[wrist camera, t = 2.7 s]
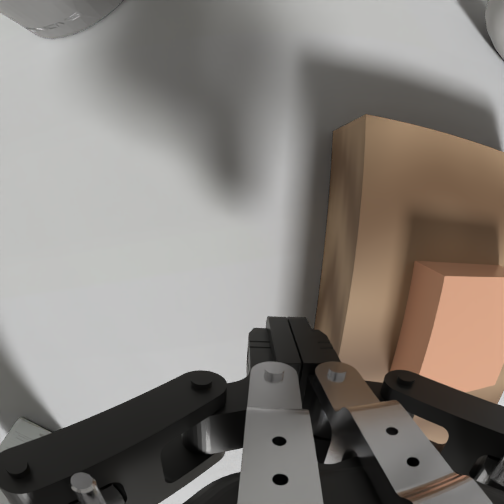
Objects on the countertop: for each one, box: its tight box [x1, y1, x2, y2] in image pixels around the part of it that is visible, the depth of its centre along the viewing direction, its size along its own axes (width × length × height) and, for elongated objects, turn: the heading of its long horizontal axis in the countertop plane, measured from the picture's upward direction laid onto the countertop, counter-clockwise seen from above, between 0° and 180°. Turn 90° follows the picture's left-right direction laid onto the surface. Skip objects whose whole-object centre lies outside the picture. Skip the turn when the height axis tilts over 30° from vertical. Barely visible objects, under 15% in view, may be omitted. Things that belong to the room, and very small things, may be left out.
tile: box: [390, 261, 504, 392], centre depth 13 cm, size 6×6×2 cm
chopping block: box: [314, 114, 504, 444], centre depth 17 cm, size 20×14×5 cm
